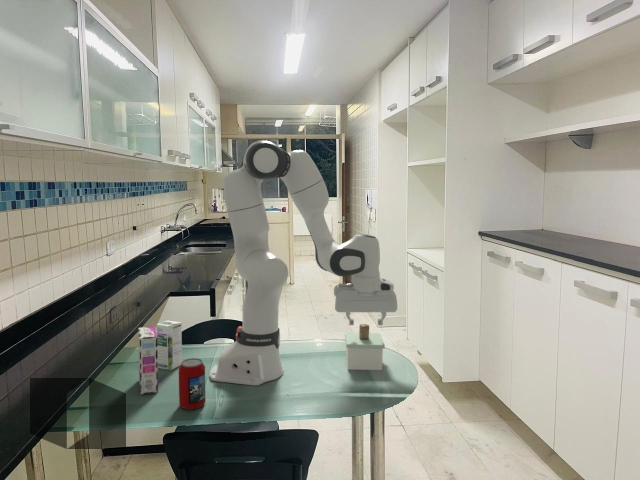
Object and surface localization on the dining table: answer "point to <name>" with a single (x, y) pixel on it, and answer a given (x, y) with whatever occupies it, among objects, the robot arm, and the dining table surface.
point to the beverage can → (191, 383)
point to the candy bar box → (148, 360)
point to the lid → (364, 339)
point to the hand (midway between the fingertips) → (365, 324)
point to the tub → (364, 358)
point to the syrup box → (169, 344)
